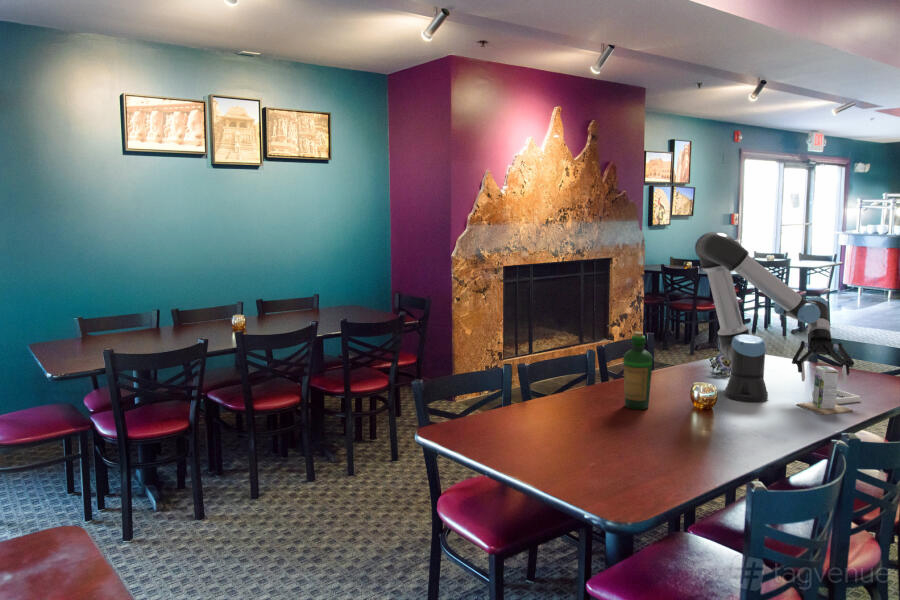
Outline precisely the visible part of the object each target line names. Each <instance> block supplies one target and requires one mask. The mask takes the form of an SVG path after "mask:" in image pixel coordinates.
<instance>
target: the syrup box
mask: <svg viewBox="0 0 900 600" xmlns="http://www.w3.org/2000/svg"><path fill="white" fill-rule="evenodd" d="M814 370H815V371H814V372H815V373H814V382H813V391H814V392H813V391H812V392H813V396H812V402H813V405H815V406H816V407H818V408H819V409H835V405H836V398H837V395H836V393H837V389H838V379H839V370H838V369H835V368H834V367H832V366H828V365H827V366H825V365H817V366H815V367H814Z"/></svg>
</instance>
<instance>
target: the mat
mask: <svg viewBox="0 0 900 600" xmlns="http://www.w3.org/2000/svg"><path fill="white" fill-rule="evenodd" d="M797 405H798V407H800V406H801V407H800V408H802V407H804V408H803V409H805V408H807V409H806V410H808V409H809V410H808V411H811V410H812V411H811V412H814V411H815V412H814V413H816V414H819V413H820V415H822V414H823V416H826V415H827V414H828V415H835V414H843V413H850V412H853V411H854V410H853V409H851V408H848V407H845V406H843V405H841V404H836V405H835V409H819V408H818V407H816V406H815V405H813V401H811V402H810V401H809V402H801V403H796V406H797Z"/></svg>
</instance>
